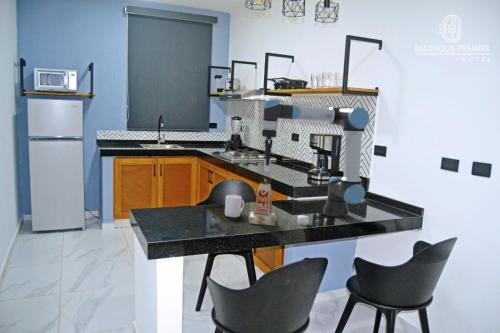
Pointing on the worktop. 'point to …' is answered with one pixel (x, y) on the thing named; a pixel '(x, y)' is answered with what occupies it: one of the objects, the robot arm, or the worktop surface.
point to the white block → (302, 220)
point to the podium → (262, 219)
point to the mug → (233, 205)
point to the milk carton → (263, 200)
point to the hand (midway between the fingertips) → (266, 169)
